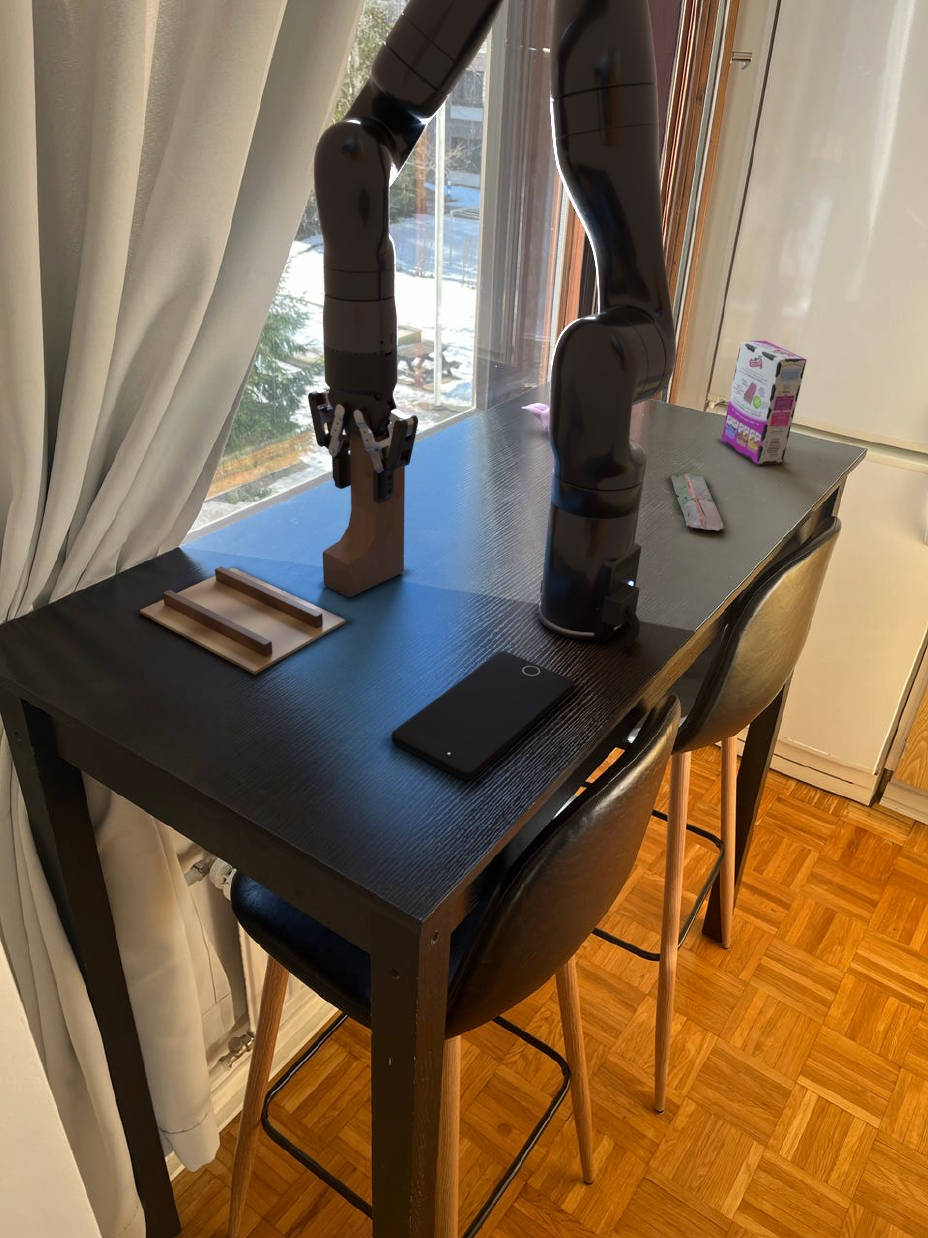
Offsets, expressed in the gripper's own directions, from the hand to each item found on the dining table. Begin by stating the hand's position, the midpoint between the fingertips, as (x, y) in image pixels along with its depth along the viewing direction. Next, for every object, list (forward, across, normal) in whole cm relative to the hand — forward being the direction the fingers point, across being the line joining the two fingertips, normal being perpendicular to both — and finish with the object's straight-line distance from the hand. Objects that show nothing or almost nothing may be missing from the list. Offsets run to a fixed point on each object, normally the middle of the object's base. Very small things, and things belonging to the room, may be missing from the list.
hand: (363, 492), depth 105 cm
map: (+11, +20, +47) cm, 52 cm away
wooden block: (+11, 0, 0) cm, 11 cm away
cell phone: (+11, +26, -12) cm, 31 cm away
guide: (+11, -4, -15) cm, 19 cm away
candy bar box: (+11, +18, +72) cm, 75 cm away
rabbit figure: (+11, -9, +57) cm, 59 cm away
